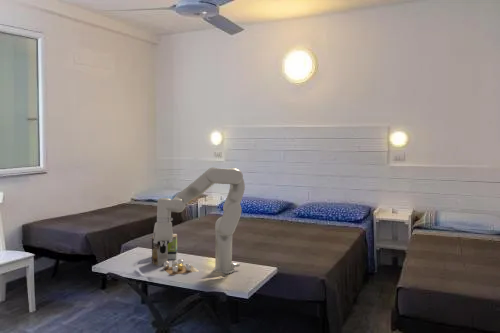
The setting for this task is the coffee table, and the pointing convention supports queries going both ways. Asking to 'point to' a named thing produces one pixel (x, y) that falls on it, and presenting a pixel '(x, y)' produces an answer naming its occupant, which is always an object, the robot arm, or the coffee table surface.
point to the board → (181, 271)
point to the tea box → (172, 248)
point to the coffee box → (158, 254)
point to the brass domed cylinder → (180, 267)
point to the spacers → (175, 267)
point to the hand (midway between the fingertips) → (162, 252)
